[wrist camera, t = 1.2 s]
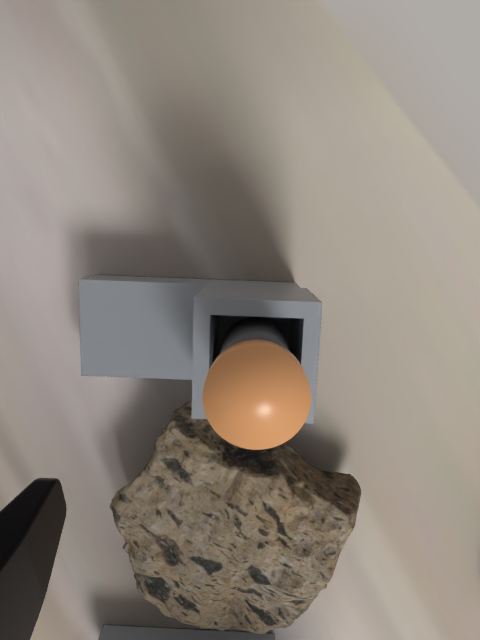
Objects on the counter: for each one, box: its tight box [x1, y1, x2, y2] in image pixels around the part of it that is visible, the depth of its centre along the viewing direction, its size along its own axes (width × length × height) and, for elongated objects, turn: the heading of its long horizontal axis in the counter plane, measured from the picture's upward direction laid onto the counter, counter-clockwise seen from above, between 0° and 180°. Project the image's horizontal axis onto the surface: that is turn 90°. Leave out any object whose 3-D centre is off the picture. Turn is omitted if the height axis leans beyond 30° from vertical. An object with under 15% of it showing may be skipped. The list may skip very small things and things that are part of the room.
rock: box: [110, 401, 361, 634], centre depth 23 cm, size 11×12×4 cm
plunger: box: [202, 317, 311, 450], centre depth 15 cm, size 3×3×6 cm
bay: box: [79, 275, 322, 640], centre depth 21 cm, size 22×10×7 cm, turn 178°
